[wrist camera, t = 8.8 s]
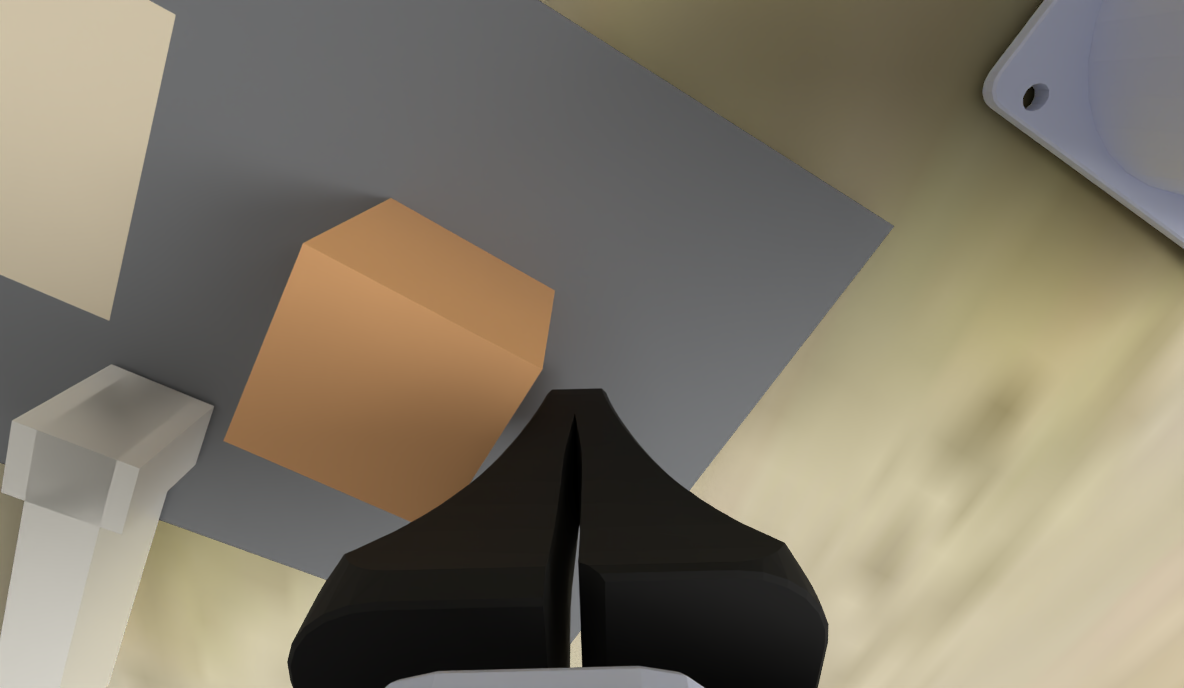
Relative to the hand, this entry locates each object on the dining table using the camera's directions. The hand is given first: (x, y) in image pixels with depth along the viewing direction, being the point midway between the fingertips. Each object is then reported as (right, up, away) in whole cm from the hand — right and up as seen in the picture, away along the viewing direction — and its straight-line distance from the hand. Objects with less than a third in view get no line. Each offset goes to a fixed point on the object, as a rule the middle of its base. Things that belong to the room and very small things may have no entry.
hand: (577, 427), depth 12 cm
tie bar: (-13, -4, +3) cm, 14 cm away
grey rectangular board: (-7, +3, +1) cm, 7 cm away
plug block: (-3, +2, 0) cm, 4 cm away
